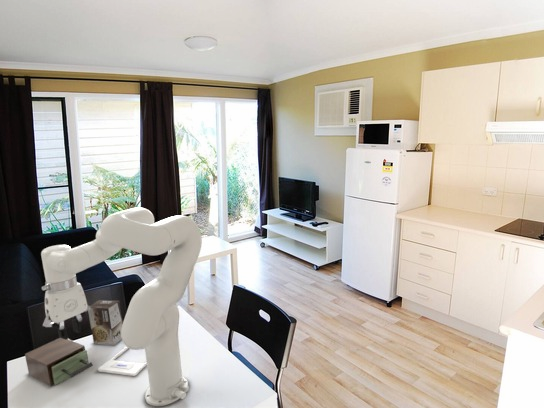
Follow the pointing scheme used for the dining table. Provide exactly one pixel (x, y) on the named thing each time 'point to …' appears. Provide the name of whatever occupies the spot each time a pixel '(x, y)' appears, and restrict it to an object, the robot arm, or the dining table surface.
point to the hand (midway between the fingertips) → (70, 334)
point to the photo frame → (122, 366)
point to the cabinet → (50, 358)
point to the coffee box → (106, 322)
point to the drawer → (70, 366)
